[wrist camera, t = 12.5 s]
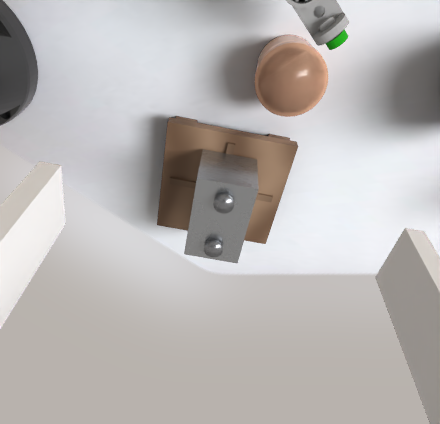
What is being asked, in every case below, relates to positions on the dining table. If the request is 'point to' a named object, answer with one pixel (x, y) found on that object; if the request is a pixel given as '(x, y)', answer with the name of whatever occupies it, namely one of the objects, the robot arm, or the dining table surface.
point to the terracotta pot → (290, 76)
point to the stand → (230, 144)
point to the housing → (222, 206)
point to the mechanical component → (322, 21)
